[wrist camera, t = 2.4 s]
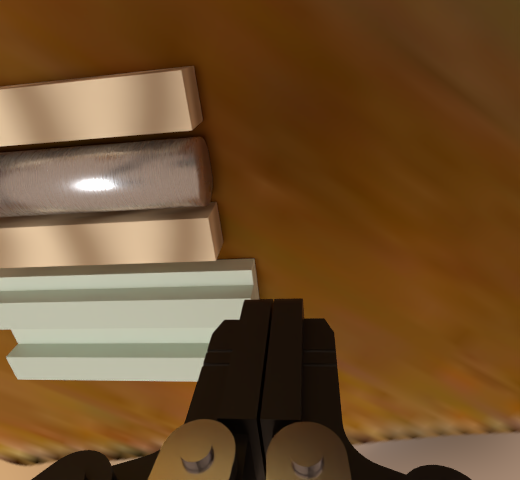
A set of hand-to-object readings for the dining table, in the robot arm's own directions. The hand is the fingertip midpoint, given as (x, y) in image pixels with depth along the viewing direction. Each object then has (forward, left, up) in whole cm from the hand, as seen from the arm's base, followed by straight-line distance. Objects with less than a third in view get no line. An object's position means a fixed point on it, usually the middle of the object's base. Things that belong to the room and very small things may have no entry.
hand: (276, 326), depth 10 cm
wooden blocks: (+13, 0, -15) cm, 20 cm away
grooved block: (+13, +12, -15) cm, 24 cm away
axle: (+13, 0, -14) cm, 19 cm away
